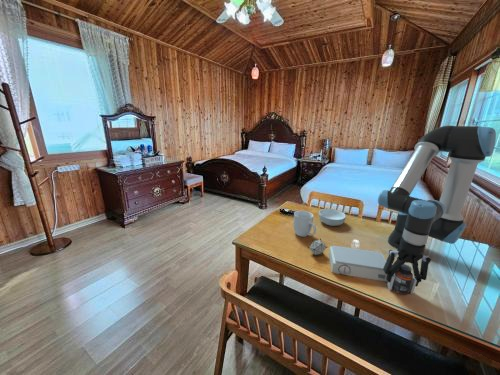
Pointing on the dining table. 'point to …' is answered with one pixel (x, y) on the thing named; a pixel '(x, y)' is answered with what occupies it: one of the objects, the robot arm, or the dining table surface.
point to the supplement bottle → (402, 280)
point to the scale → (357, 263)
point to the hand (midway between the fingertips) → (399, 289)
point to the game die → (317, 247)
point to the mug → (303, 223)
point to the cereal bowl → (332, 217)
